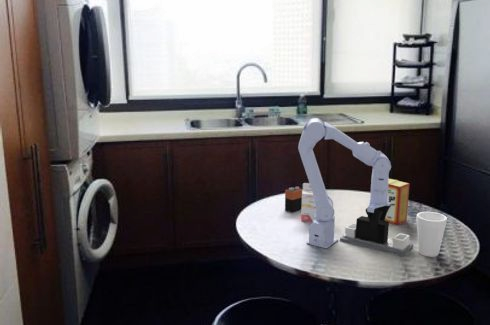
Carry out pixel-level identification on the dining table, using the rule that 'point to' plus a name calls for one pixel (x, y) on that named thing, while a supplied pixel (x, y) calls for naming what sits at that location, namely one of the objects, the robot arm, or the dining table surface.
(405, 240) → the mounted modules
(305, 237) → the dining table surface
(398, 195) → the baking soda box
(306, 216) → the ink cartridge box
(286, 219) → the dining table surface
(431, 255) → the foam cup
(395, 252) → the rail panel
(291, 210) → the battery
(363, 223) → the digital camera
